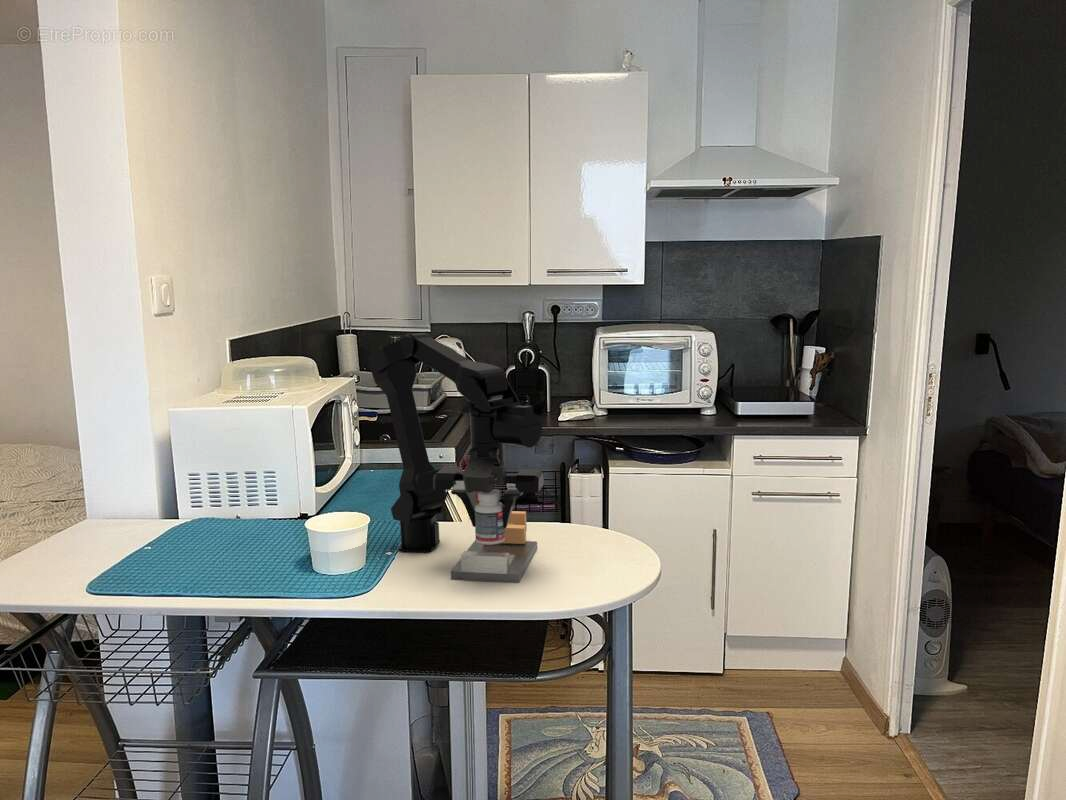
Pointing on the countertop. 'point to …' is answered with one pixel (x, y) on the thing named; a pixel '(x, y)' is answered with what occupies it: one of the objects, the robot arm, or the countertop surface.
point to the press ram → (516, 528)
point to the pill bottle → (489, 518)
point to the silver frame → (494, 562)
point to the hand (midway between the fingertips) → (490, 526)
